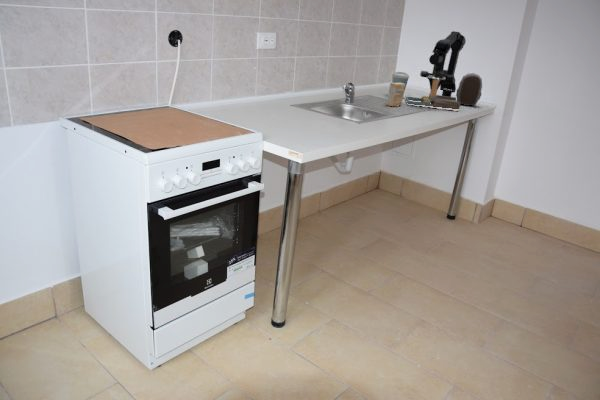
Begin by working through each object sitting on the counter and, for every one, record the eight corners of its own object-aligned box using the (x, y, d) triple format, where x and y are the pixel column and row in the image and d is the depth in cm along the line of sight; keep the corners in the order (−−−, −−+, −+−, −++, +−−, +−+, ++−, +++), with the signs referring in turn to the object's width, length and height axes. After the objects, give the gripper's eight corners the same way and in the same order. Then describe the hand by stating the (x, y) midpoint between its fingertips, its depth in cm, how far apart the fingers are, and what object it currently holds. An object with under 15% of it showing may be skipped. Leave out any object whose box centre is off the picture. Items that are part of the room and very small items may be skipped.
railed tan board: (429, 103, 305) (431, 94, 303) (453, 106, 304) (455, 97, 302) (432, 108, 291) (434, 99, 289) (458, 111, 291) (460, 102, 288)
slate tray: (405, 100, 305) (406, 96, 304) (431, 103, 304) (432, 99, 303) (407, 105, 292) (408, 101, 291) (434, 108, 292) (435, 104, 291)
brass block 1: (427, 102, 302) (420, 102, 302) (428, 96, 301) (422, 95, 301) (428, 104, 298) (421, 103, 299) (429, 97, 297) (422, 96, 297)
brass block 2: (428, 105, 297) (422, 104, 297) (430, 98, 295) (423, 97, 295) (429, 106, 293) (422, 105, 293) (431, 99, 292) (424, 98, 292)
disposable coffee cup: (406, 99, 308) (411, 75, 302) (389, 97, 308) (393, 73, 302) (403, 96, 318) (408, 72, 312) (387, 94, 318) (391, 70, 312)
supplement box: (392, 107, 283) (396, 84, 278) (386, 105, 287) (390, 82, 281) (401, 106, 288) (405, 83, 283) (395, 104, 292) (399, 82, 286)
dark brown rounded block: (453, 104, 310) (461, 72, 302) (453, 101, 318) (460, 70, 310) (478, 108, 307) (486, 75, 299) (477, 105, 315) (485, 73, 307)
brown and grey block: (428, 97, 301) (431, 77, 297) (433, 97, 301) (436, 77, 296) (431, 100, 292) (434, 80, 287) (436, 101, 292) (439, 80, 287)
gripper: (425, 63, 281) (419, 90, 287) (458, 67, 280) (451, 94, 287) (422, 60, 291) (417, 87, 298) (454, 64, 290) (448, 91, 297)
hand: (433, 90), depth 294 cm, fingers closed on brown and grey block, 3 cm apart
